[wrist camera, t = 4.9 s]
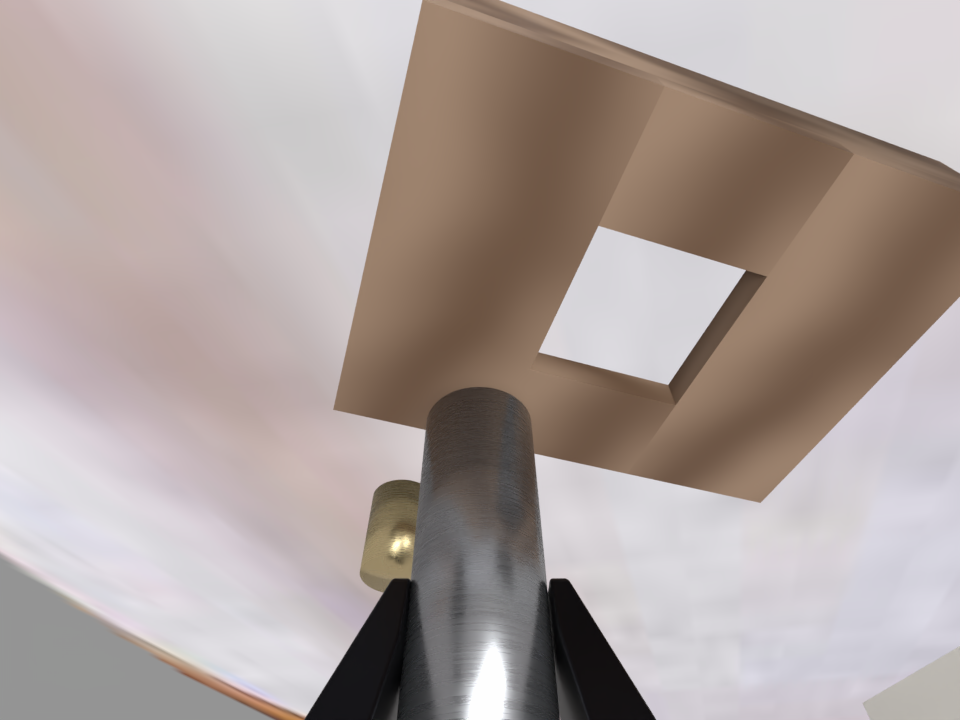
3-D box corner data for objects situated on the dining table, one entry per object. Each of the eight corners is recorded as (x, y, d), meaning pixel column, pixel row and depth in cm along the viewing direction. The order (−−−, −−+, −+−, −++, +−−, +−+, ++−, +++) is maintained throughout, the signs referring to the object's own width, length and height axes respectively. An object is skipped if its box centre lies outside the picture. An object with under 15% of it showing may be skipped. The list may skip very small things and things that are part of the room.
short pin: (367, 512, 29) (354, 588, 26) (379, 474, 27) (366, 550, 24) (427, 523, 30) (420, 598, 27) (442, 486, 28) (437, 562, 25)
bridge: (353, 336, 22) (333, 409, 19) (434, -24, 15) (422, 0, 12) (726, 426, 25) (760, 502, 22) (939, 161, 18) (1035, 218, 15)
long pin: (422, 387, 16) (368, 864, 8) (534, 386, 16) (585, 864, 8) (429, 461, 18) (389, 908, 10) (528, 461, 18) (566, 908, 10)
